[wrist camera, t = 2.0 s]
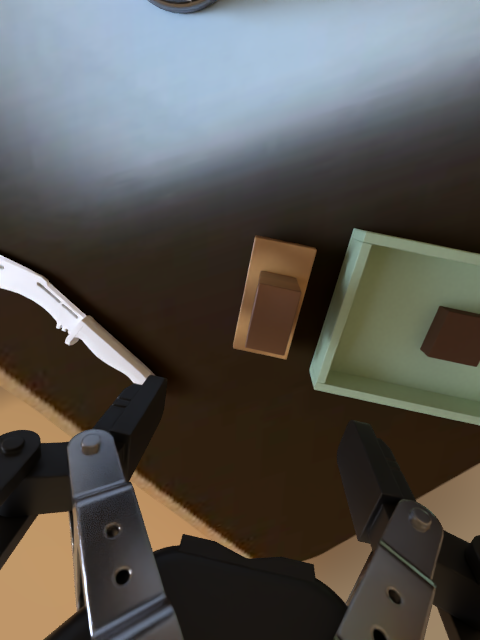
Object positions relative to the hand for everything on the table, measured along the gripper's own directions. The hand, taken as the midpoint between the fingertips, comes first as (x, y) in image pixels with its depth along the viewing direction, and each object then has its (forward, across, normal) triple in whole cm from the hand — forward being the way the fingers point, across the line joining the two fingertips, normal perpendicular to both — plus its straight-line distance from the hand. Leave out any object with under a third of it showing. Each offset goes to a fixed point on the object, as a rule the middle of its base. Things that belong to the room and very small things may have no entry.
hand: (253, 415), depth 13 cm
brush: (+17, -1, -1) cm, 17 cm away
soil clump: (+16, -17, -1) cm, 24 cm away
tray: (+17, -16, -1) cm, 23 cm away
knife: (+17, +23, +6) cm, 29 cm away
